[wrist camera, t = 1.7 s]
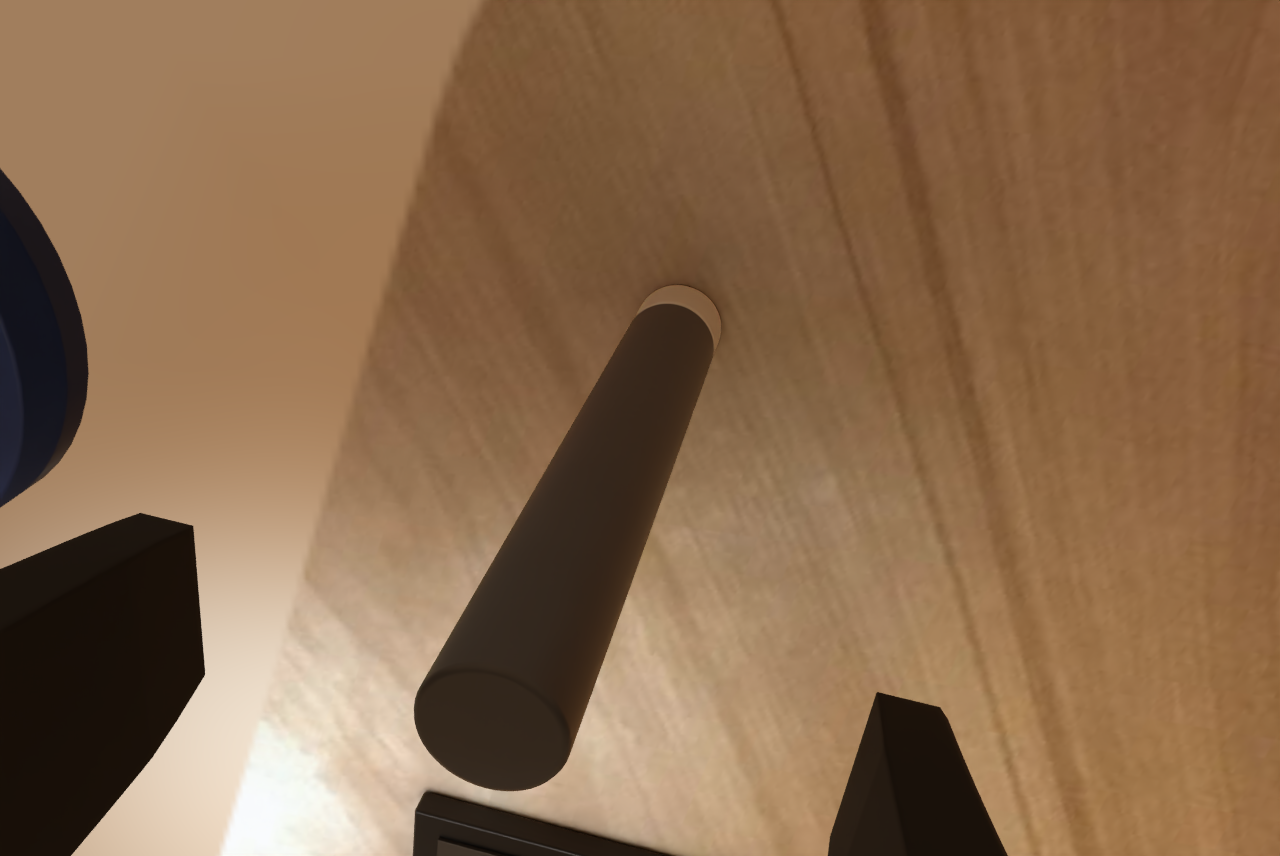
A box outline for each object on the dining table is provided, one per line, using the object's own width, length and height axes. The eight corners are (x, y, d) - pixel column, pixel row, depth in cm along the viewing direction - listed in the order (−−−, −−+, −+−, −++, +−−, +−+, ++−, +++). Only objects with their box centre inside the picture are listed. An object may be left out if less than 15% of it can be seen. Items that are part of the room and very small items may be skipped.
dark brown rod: (632, 353, 20) (408, 771, 11) (644, 275, 19) (413, 649, 10) (713, 371, 20) (561, 811, 10) (728, 293, 19) (578, 689, 10)
